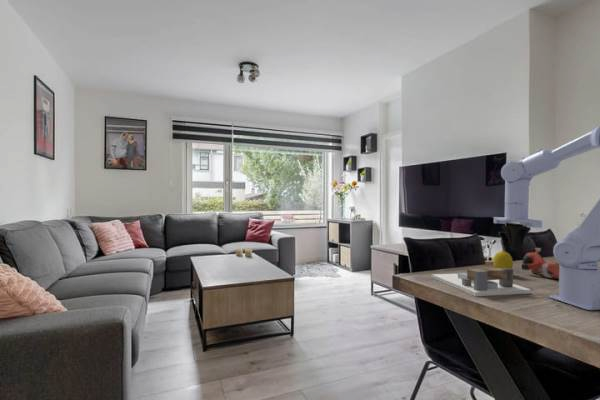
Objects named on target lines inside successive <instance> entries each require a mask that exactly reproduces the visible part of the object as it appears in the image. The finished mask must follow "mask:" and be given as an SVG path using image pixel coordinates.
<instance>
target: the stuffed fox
mask: <svg viewBox="0 0 600 400" xmlns="http://www.w3.org/2000/svg"><path fill="white" fill-rule="evenodd" d="M541 251H542V248H541V247H535V248H534V249H533V251H532V252H526V253H525V255H524V256H523V258H522V264H521V270H525V271H529V270H530V271H531V273H533V274H542V275H543V277H544V278H545V279H550V280H551V279H554V280H559V262H558V261H557V262H556V261H547V262H546V260H545V259H544V258H543V257H542V256H541V255H540V254H539V253H541Z"/></svg>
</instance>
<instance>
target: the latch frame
mask: <svg viewBox="0 0 600 400" xmlns="http://www.w3.org/2000/svg"><path fill="white" fill-rule="evenodd" d="M431 278H432V279H434V280H436V281H439V282H441V283H444V284H446V285H448V286H451V287H452V288H455V289H457V290H460V291H463V292H464V293H467V294H469V295H471V296H474V297H484V296H485V297H486V296H487V297H488V296H504V295H505V296H506V295H508V296H509V295H526V294H532V289H530V288H528V287H524V286H521V285H518V284H516V283H515V284H514V283H513V286H512V287H507V286H502V285H499V280H487V271H474V281H473V280H470V279H467V272H457V273H439V274H438V273H437V274H436V273H434V274H431Z"/></svg>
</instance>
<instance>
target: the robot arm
mask: <svg viewBox="0 0 600 400" xmlns="http://www.w3.org/2000/svg"><path fill="white" fill-rule="evenodd" d="M595 149H600V126H599V125H598V126H597V127H596V128H594V129H593V130H591V131H589V132H587V133H585V134H584V135H581V136H580V137H577V138H575V139H573V140H571V141H569V142H567V143H565V144H563V145H560V146H559V147H557V148H555V149H549V148H538V149H536V150H535V152H534V153H533V154H530V155H529V156H526V157H521V158H519V159H518V160H517V161H507V162H506V163H505V164H503V166H502V167H501V169H500V176H501V178H502V180H504V182H505V183H504V217H503V216H494V217H493V224H499V225H500V224H502V225H501V230H503V232H504V234H505V235H506V236H505V237H507V241H508V244H509V248H510V250H511V251H514V252H516V251H518V252H519V251H521V248H522V247H523V243H524V241H525V239H526V237H527V235H528V233H529V232H530V231H531V228H535V229H539V228H540V229H542V227H543V220H537V219H531V218H529V202H530V201H529V200H530V199H529V198H530V197H529V196H530V195H529V194H530V185H531V181H532V180H533V178H534V177H537V176H539V175H541V174H544V173H547V172H550V171H552V170H554V169H557V168H558V166H559V165H560V163H561V162H562V161H564V160H567V159H570V158H573V157H576V156H578V155H581V154H584V153H587V152H589V151H593V150H595ZM552 252H553V256H554V258H555V260H557V262H558V263H559V279H558V294H557V295H555V294H553V295H552V294H551V295H549V297H548V298H549V299H550V298H551V299H553V300H556V301H559V302H562V303H565V304H568V305H571V306H575V307H577V308H581V309H583V310H587V311H597V310H600V269H599V263H600V198H599V199H598V201H597V202H596V203H595V205H594V206H593V207H592V209H591V210H590V211H589V213H588V214H587V216H586V217H585V218H584V220H583V221H581V224H580V225H579V226H578V227H577V228H575V229H573V230H572V231H570V232H568V234H567V235H566V236H565V237H564V238H563V239H561V240H559V241H558V242H556V243H555V244H554V246H553V249H552Z"/></svg>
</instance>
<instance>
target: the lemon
mask: <svg viewBox="0 0 600 400" xmlns="http://www.w3.org/2000/svg"><path fill="white" fill-rule="evenodd" d="M492 263H493V267H494V268H510V269H513V266H514V262H513V257H512V256H511V254H510V253H508V252H507V251H505V250H501V251H498V252H496V253H495V254H494V256H493V261H492Z"/></svg>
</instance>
